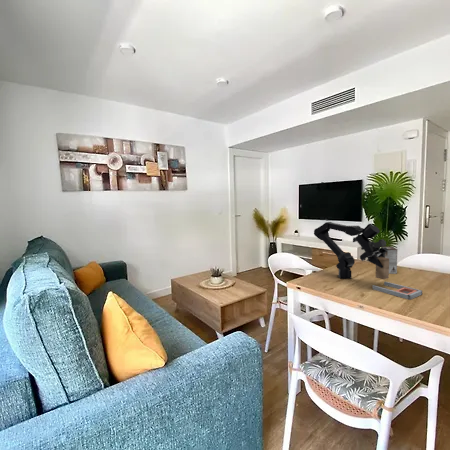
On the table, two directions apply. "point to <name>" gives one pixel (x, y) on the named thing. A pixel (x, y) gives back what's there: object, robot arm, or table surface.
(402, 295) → the u-shaped frame
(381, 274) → the walnut block
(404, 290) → the rectangular frame
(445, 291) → the table surface
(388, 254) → the coffee box
